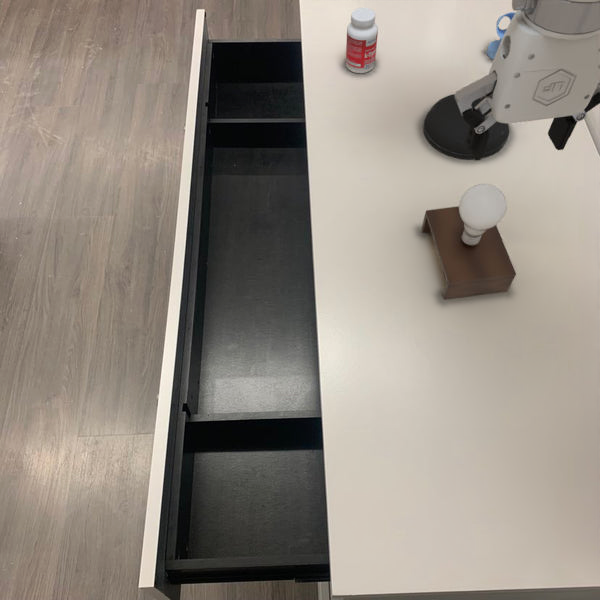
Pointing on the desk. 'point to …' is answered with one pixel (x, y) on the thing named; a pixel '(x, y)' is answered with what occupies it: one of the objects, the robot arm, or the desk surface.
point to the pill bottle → (361, 41)
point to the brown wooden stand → (468, 256)
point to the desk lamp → (459, 130)
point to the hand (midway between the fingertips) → (514, 147)
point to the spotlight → (495, 44)
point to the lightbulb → (481, 211)
